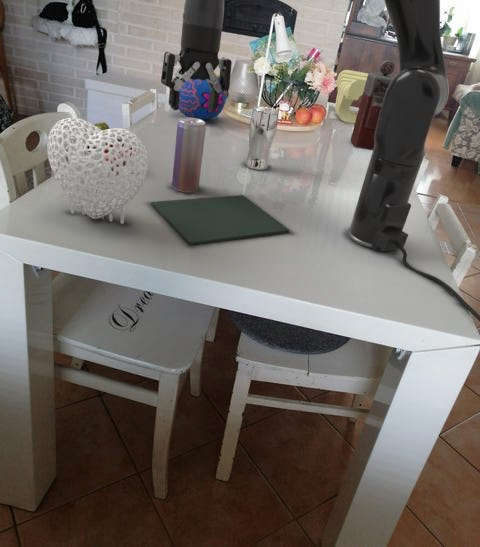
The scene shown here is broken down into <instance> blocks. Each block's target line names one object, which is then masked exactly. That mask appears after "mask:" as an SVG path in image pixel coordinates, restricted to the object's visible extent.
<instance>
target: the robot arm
mask: <svg viewBox="0 0 480 547" xmlns="http://www.w3.org/2000/svg"><path fill="white" fill-rule="evenodd" d="M383 2H384V4H385V9H386V11H387V15H388V17H389V20H390V23H391V26H392V28H393V31H394V35H395V38H396V42H397V47H398V60H399V62H398V63H399V73H397V74H396V75H395V76H394V78H393V80H392V81H391V83H390V84H389V86H388V88H387V91H386V94H385V96H384V100H383V103H382V107H381V111H380V115H379V118H378V122H377V126H376V130H375V136H374V140H375V145H374V149H373V150H372V153H371V156H370V159H369V163H368V166H367V169H366V172H365V176H364V179H363V183H362V186H361V189H360V193H359V196H358V199H357V203H356V206H355V209H354V213H353V215H352V219H351V223H350V227H349V228H348V231H347V236H348V237H349V239H351V240H352V241H353V242H355V243H357V244H358V245H360V246H363V247H366V248H369V249H372V250H373V251H375V252H378V251H383V252H389V251H392V250H393V251H394V250H400V251H401V253H402V258H401V261H402V262H401V263H402V264H403V266H405V268H406V269H408V270H410V271H412V272H414V273H416V274H417V275H420V276H422V277H424V278H425V279H429V280H431V281H433V282H436V283H437V284H439V285H441V287H443V288H444V289H445V290H447V291H448V292H449V293H450V294H451V295H452V296H453V297H454V298H455V299H456V300H457V301H458V302H459V303H460V304H461V305H462V306H463V307H464V308H465V310H467V311H468V312H469V313H470V314H471V315H472V316H474V318H476V320H477V321H478V322H480V314H479V313H478V312H477V311H476V310H475V309H474V308H473V307H471V306H470V305H469V304H468V303H467V302H466V301H465V299H463V297H461V296H460V294H459V293H457V291H455V290H454V289H453V287H451V286H450V285H448V284H447V283H446V282H445V281H443V280H441V279H440V278H438V277H436V276H434V275H432V274H430V273H426V272H424V271H420V270H418V269H416V268H414V267H412V265H410V264H409V263H408V261H407V258H408V253H407V251H406V249H405V245H406V242H407V239H408V237H409V234H408V233H407V232H405V231H403V230H404V227H405V224H406V222H407V219H408V217H409V213H410V211H411V209H412V204H411V203H410V202H409V200H410V198H411V194H412V192H413V189H414V186H415V183H416V180H417V178H418V175H419V171H420V168H421V166H422V164H423V160H424V158H425V155H426V141H427V138H428V135H429V131H430V128H431V125H432V122H433V121H434V120H433V119H434V118H435V117H436V116H437V115H439V114H440V113H441V112H442V110H444V108H445V106H446V104H447V102H448V99H449V95H450V84H449V79H448V73H447V67H446V63H445V57H444V56H445V55H444V51H443V44H442V37H441V0H383ZM224 16H225V0H184V5H183V13H182V25H181V26H182V27H181V38H180V51H179V53H178V54H176V53H172V52H170V51H165V52H164V53H163V62H162V69H161V77H160V83H161V84H162V85H164V86H165V87H167V88H168V89H169V94H168V105H169V106H170V108H171V109H172V110H173V111H179V109H178V107H179V97H180V91H178V90H179V89H180V88H181V87H182V85H183V84H184V83H186V82H187V81H188V80H189V78H190V79H193V80H196V79H201V80H206V81H207V82H208V84H209V86H210V88H211V90H212V91H210V93H209V102H208V110H210V111H213V112H215V110H216V109H217V107H218V101H219V95H220V93H221V92H222V91H224V90H226V91H227V90H229V91H230V85H231V77H232V76H231V75H232V73H231V72H232V65H233V63H232V62H233V61H232V60H231V59H230V58H228V57H222V58H219V52H220V48H221V41H222V32H223V26H224V25H223V23H224ZM177 63H178V64H179V65H180V67H179V68H178V69H177V71H176V72H175V74H174V69H175V66H177ZM217 68H218V69H219V76H220V77H219V83H218V79H217V77H216V75H215V70H216V69H217Z"/></svg>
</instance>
